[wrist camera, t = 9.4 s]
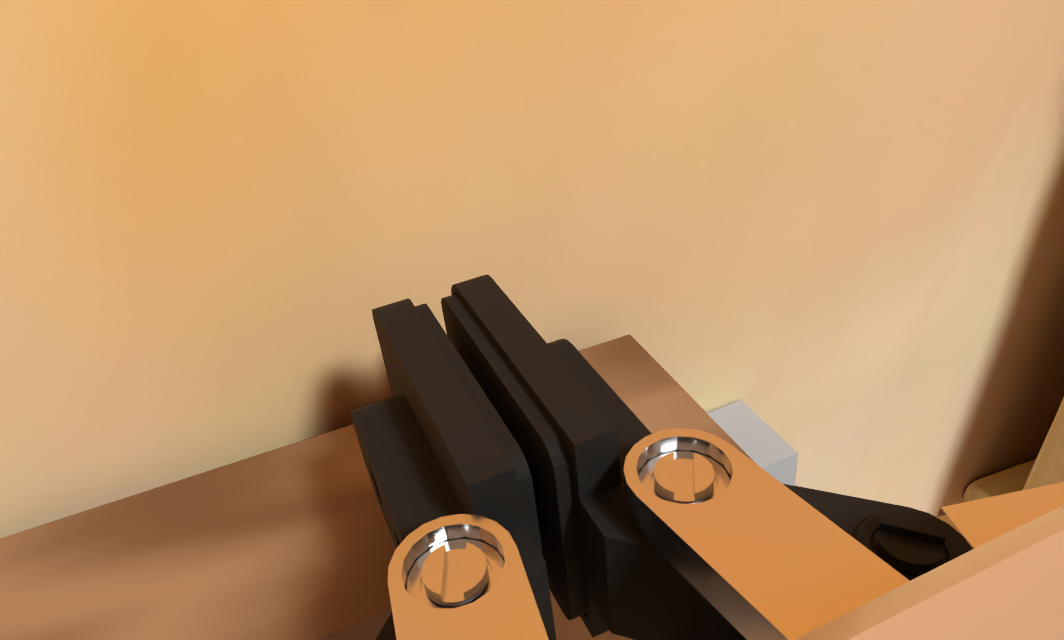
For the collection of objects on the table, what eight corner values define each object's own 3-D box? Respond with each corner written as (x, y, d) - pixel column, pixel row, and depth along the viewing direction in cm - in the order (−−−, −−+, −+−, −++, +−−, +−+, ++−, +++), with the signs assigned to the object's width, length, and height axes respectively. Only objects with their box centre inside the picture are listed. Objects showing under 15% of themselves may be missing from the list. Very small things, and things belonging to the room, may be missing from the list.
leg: (-245, 790, 13) (-381, 1110, 9) (-415, 655, 11) (-661, 1001, 7) (634, 461, 17) (745, 604, 14) (629, 321, 15) (757, 449, 12)
